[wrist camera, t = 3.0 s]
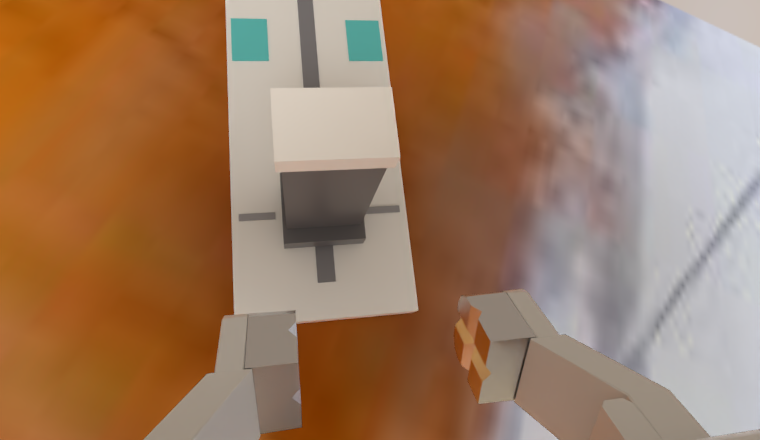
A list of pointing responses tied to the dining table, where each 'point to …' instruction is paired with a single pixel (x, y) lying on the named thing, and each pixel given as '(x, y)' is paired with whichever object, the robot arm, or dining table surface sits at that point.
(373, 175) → the fader tab
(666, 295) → the dining table surface
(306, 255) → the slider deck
